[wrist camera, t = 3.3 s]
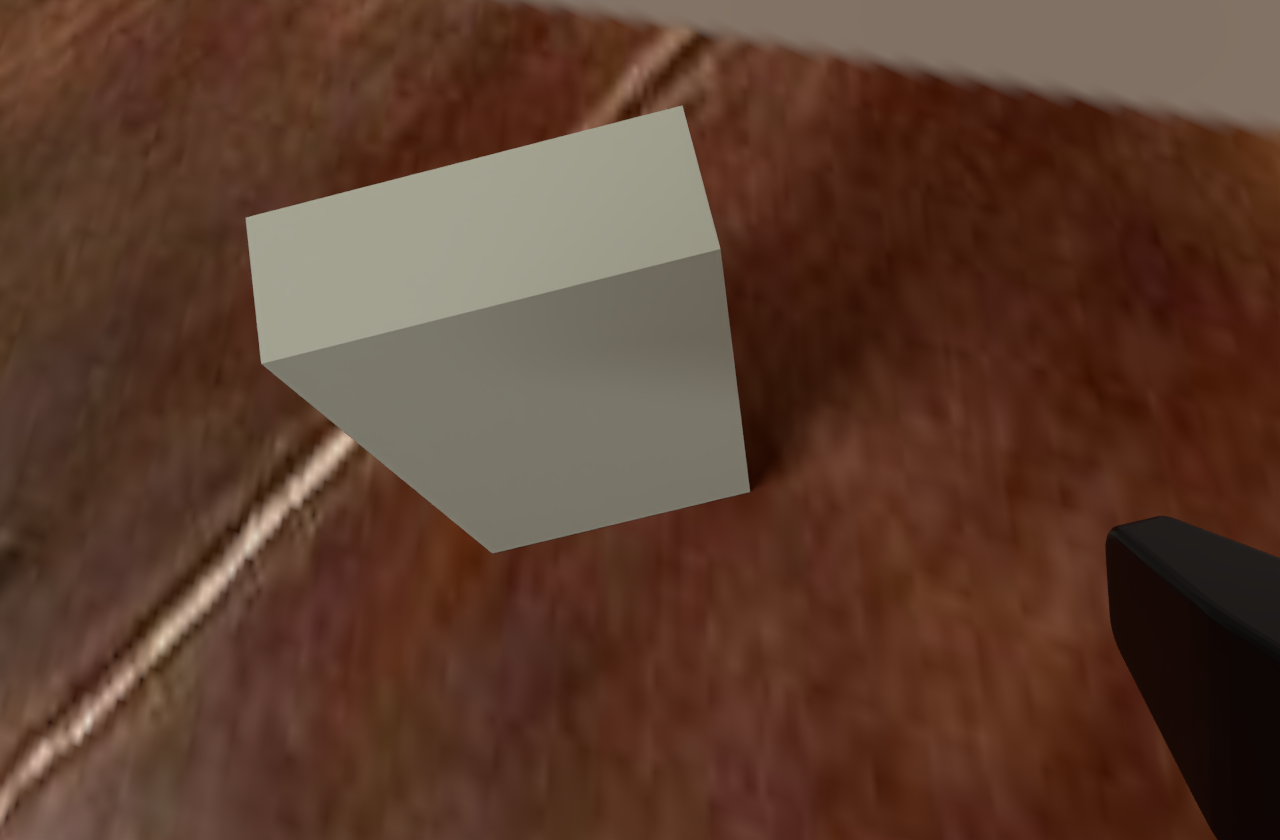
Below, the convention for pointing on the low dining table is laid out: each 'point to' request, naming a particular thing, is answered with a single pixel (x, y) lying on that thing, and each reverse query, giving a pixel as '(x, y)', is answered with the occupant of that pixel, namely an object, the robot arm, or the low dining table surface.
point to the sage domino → (519, 330)
